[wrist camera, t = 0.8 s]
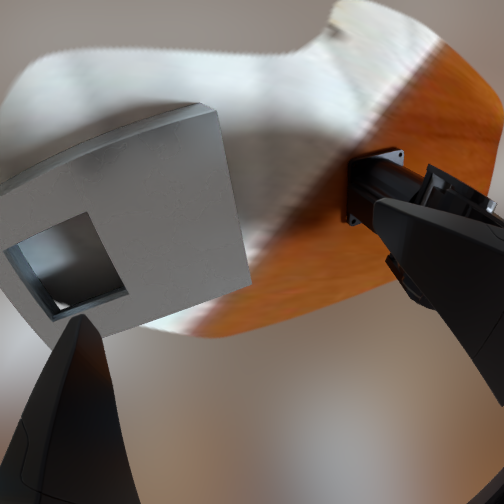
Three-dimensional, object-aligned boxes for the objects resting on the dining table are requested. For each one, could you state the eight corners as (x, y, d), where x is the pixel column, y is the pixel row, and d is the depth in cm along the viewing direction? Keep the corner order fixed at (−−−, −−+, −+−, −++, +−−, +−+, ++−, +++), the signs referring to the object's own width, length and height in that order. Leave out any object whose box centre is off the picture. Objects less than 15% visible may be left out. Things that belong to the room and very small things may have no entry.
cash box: (200, 102, 17) (216, 110, 14) (233, 253, 24) (252, 284, 21) (-17, 194, 14) (-40, 222, 11) (58, 316, 21) (54, 353, 18)
